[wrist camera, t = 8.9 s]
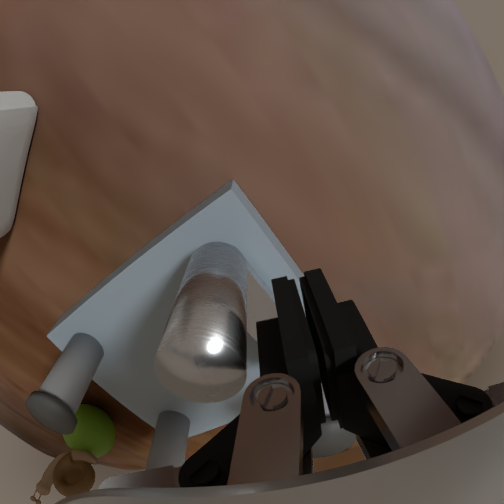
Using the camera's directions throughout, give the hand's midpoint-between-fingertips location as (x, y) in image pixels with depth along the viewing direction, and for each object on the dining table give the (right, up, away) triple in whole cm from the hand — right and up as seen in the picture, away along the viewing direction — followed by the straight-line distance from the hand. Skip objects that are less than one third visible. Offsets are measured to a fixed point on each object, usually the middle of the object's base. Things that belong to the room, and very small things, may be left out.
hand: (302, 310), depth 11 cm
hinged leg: (-2, 0, +7) cm, 7 cm away
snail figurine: (-17, -14, +16) cm, 27 cm away
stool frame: (-6, -4, +11) cm, 13 cm away
